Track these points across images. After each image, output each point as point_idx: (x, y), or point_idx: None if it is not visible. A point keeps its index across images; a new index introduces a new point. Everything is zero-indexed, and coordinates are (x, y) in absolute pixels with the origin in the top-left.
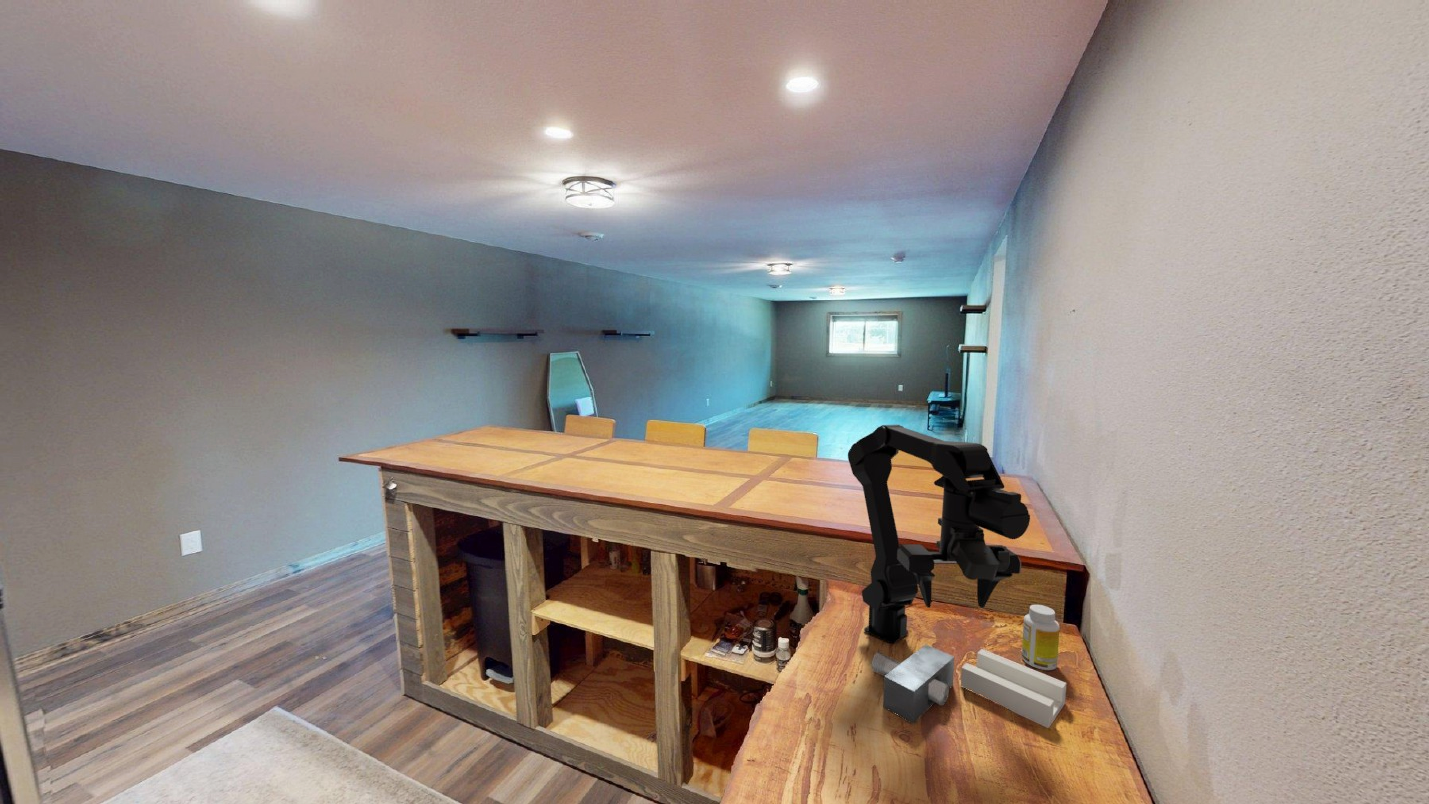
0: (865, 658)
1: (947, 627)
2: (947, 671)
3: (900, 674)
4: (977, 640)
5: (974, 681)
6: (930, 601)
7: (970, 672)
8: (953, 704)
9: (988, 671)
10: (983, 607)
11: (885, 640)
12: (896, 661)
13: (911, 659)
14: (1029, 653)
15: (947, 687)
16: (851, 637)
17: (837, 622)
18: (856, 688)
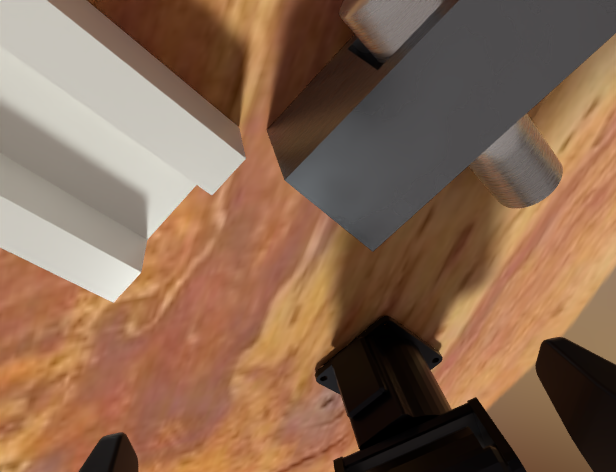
0: (495, 233)
1: (179, 425)
2: (323, 114)
3: None
4: (97, 389)
5: (198, 109)
6: (596, 372)
7: (214, 132)
8: (306, 8)
9: (107, 215)
10: (103, 437)
11: (400, 325)
12: (505, 151)
13: (489, 129)
14: None
15: (358, 7)
16: (485, 321)
17: (490, 374)
18: (604, 70)
